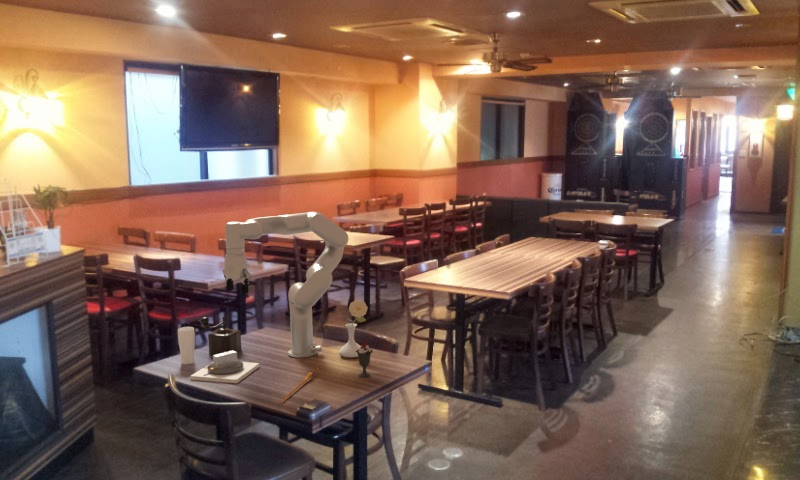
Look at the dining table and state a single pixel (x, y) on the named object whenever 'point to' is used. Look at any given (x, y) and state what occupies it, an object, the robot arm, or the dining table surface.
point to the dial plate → (227, 378)
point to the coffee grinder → (222, 338)
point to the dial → (225, 363)
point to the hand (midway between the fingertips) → (237, 291)
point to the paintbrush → (301, 384)
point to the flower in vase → (356, 310)
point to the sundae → (364, 358)
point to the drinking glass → (186, 344)
